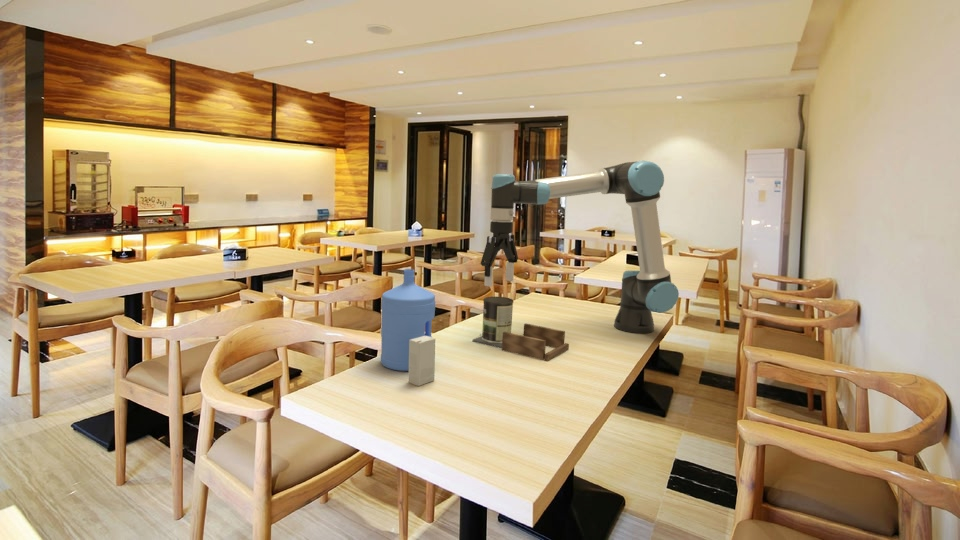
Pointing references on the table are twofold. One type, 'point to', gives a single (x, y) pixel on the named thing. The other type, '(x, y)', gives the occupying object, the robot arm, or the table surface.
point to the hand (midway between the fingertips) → (499, 283)
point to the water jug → (404, 320)
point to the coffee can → (496, 318)
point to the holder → (535, 342)
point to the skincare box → (421, 360)
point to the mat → (479, 340)
